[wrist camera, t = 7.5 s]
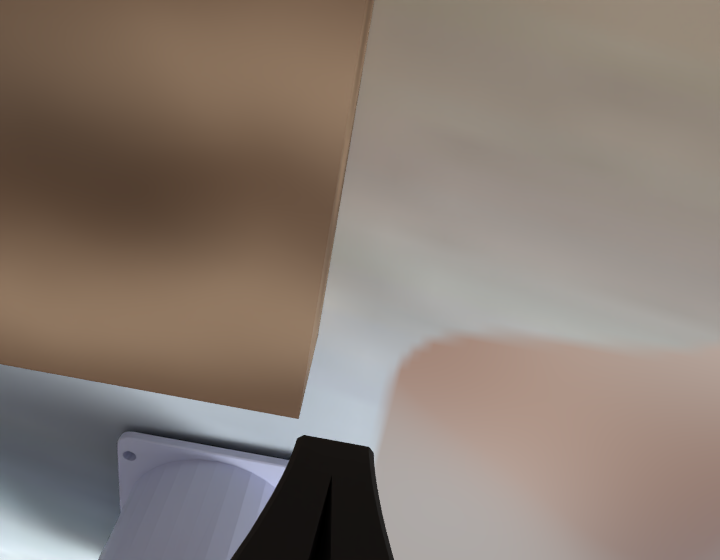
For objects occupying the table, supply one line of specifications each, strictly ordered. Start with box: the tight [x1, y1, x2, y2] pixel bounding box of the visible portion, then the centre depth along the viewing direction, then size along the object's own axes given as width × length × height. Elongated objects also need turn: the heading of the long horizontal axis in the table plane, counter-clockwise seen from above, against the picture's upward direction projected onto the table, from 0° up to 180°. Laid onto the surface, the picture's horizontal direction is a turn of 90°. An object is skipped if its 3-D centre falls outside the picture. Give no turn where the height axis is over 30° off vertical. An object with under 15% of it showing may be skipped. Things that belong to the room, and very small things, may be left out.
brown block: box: [0, 0, 374, 419], centre depth 17 cm, size 12×13×4 cm
